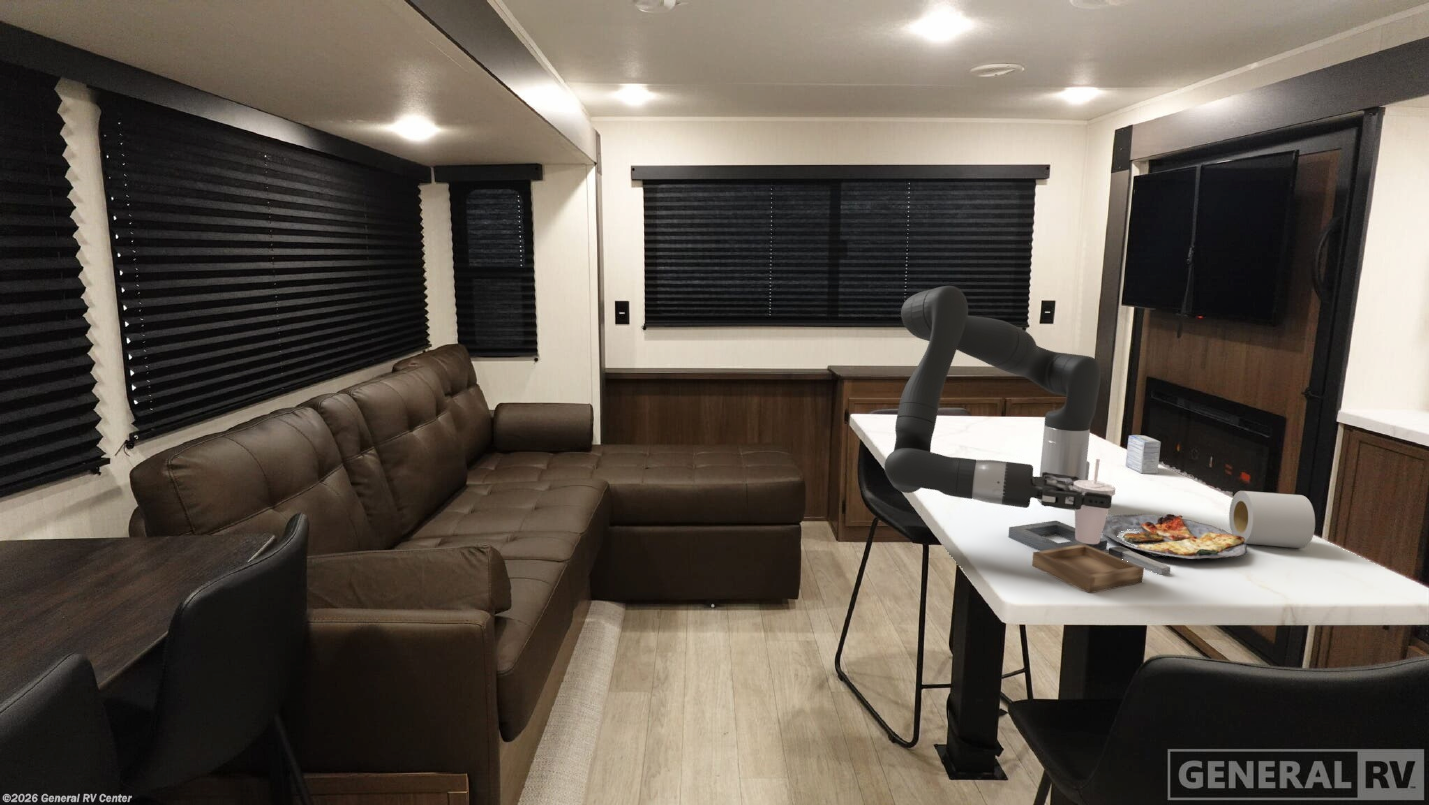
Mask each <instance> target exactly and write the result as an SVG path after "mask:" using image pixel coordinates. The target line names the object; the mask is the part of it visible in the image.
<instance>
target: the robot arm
mask: <svg viewBox="0 0 1429 805" xmlns="http://www.w3.org/2000/svg"><path fill="white" fill-rule="evenodd" d="M900 316H901V320H902V324H903V326H904V327H905V328H906V330H907V331H908V332H909V333H910V334H912V336H914V337H916V338H918V339H920V340H923V341H928V345H927V348H926V350H925V352H924V354H923V356H922V358H921V360H920V362H919V364H917V366H916V368H915V370H914V371H913V373H912V374H911V376H910V377H909V379H908V381H907V382H906V384H905V386H904V389H903V391H902V393H901V397H900V400H899V405H898V410H897V415H896V420H895V429H894V430H895V443H894V447H893V451H892V452H891V453H889V454H888V456H887V457H886V458H885V462H884V474H885V476H886V477H887V479H888V481H889V483H890V484H891V485H892V487H893V488H895V489H896V490H898V491H899V492H901V493H906V494H908V493H909V494H910V493H911V494H912V493H914V492H915V493H916V492H917V491H919V490H920V489H927V490H934V491H938V492H939V493H941V494H943V495H946V496H950V497H953V498H954V497H955V498H962V499H969V500H972V499H973V500H976V501H979V502H984V503H988V504H996V505H1002V506H1009V507H1018V508H1023V509H1025V508H1029V507H1030V504H1031V499H1032V498H1034V499H1037V500H1038V501H1039V502H1040V505H1041V506H1043V507H1051V508H1052V507H1053V508H1061V509H1069V510H1070V509H1072V510H1075V509H1076V510H1078V509H1081V507H1085V506H1090V507H1098V508H1105V509H1111V507H1112V500H1113V496H1112V497H1111V496H1110V495H1108V494H1100V493H1092V492H1085V491H1082V490H1077V489H1074V488H1073V484H1074V482H1075V481H1078V480H1089V473H1090V465H1091V464H1090V461H1088V452H1089V442H1090V435H1091V434H1090V433H1091V425H1092V422H1093V419H1094V417H1095V415H1096V410H1097V403H1098V397H1099V392H1100V386H1101V385H1100V384H1101V377H1102V376H1101V372H1102V371H1101V366H1100V364H1099V361H1097V359H1096V358H1094V357H1093V356H1089V355H1083V354H1075V353H1074V354H1073V353H1067V352H1058V351H1053V350H1049V349H1047V348H1046V349H1045V348H1043V347H1041V346H1039V345H1038V344H1037V342H1036V340H1035V339H1034V337H1033V336H1032V334H1030V333H1028V332H1027V331H1026V330H1024V329H1022V328H1020V327H1018V326H1016V325H1014V324H1012V323H1010V322H1007V321H1005V320H1001V319H996V318H991V317H983V316H973V315H969V306H968V301H967V298H966V295H965V294H964V293H963V292H962V290H960V288H958V287H956V286H954V285H945V286H939V287H935V288H932V289H927V290H923V291H920V292H917V293H915V294H912V296H910V297H908V298H907V299H906V300H905V301H904V302H903V305H902V307H901V311H900ZM957 351H958V352H960V353H963V354H965V355H967V356H970V357H972V358H974V359H977V360H980V361H981V362H983V363H985V364H987V365H989V366H992V367H994V368H997V369H998V370H1001V371H1005V372H1006V373H1010V374H1013V375H1017V376H1021V377H1024V378H1025V379H1028V380H1029V381H1031V382H1033V383H1034V384H1036V385H1037V386H1039V387H1041V388H1042V389H1044V390H1045V391H1047V392H1049V393H1052V394H1054V395H1058V396H1059V395H1060V396H1064V397H1066V398H1065V400H1064V401H1065V402H1064V405H1063V406H1062V407H1061V408H1059V409H1054V410H1049V411H1047V412H1046V414H1045V416H1044V424H1043V425H1044V426H1043V437H1042V446H1041V458H1040V459H1041V460H1040V466H1039V476H1034V466H1033V465H1032V464H1028V463H1019V462H1012V461H1003V460H994V459H975V458H966V457H958V456H957V457H955V456H954V457H953V456H947V455H943V454H940V453H935V452H931V448H932V438H933V435H934V431H935V428H936V422H937V417H938V414H939V413H938V411H939V407H940V402H941V397H942V393H943V389H944V386H945V383H946V379H947V376H948V373H949V371H950V369H951V366H952V363H953V360H954V358H955V354H956V352H957Z"/></svg>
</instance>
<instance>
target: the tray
mask: <svg viewBox="0 0 1429 805" xmlns="http://www.w3.org/2000/svg"><path fill="white" fill-rule="evenodd" d="M1031 566H1032V567H1033V568H1036V569H1038V570H1040V571H1042V572H1044V573H1046V574H1049V575H1050V576H1053V577H1055V578H1057V579H1058V580H1060V581H1063V582H1065V583H1067V584H1070V585H1071V586H1073V587H1075V588H1077V589H1080V590H1082V591H1084V592H1086V593H1088V594H1090V593H1091V594H1092V593H1095V592H1096V593H1097V592H1100V591H1106V590H1111V589H1116V588H1121V587H1126V586H1132V585H1136V584H1142V583H1143V578H1144V572H1145V571H1144V570H1145V569H1144V568H1142V567H1140V566H1137V565H1135V564H1132V563H1130V562H1127V561H1125V560H1122V559H1120V558H1117V557H1115V556H1112V555H1110V554H1108V553H1107V552H1106V551H1100V550H1098V549H1095V548H1093V547H1090V546H1088V545H1085V544H1082V545H1075V546H1069V547H1063V548H1057V549H1051V550H1044V551H1039V550H1037V551H1033V552H1032V560H1031Z"/></svg>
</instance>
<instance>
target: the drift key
mask: <svg viewBox="0 0 1429 805" xmlns="http://www.w3.org/2000/svg"><path fill="white" fill-rule="evenodd" d="M1107 554H1110V555H1112V556H1115V557H1117V558H1120V559H1123V560H1125V561H1128V562H1130V563H1132V564H1135V565H1137V566H1140V567H1142V568H1145V569H1144V570H1146V571H1149V572H1151V571H1152V572H1151V573H1153V574H1155V573H1157V574H1156V575H1158V574H1159V575H1158V576H1160V575H1163V576H1167V575H1166V574H1169V575H1171V574H1170V573H1171V566H1169V565H1167V564H1164V563H1162V562H1160V561H1158V560H1154V559H1152V558H1149V557H1148V556H1144V555H1141V554H1139V553H1137V552H1135V551H1132V549H1129V548H1126V547H1124V546H1121V545H1118V546H1112V547H1108V553H1107Z"/></svg>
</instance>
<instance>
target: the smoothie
mask: <svg viewBox="0 0 1429 805" xmlns="http://www.w3.org/2000/svg"><path fill="white" fill-rule="evenodd" d="M1100 461H1101V460H1100V458H1095V463H1094V464H1095V465H1094V472H1093V480H1091V479H1088V480H1078V481H1075V482H1074V484H1073V488H1074V489H1077V490H1082V491H1085V492H1092V493H1100V494H1108V495H1110V496H1111V497H1112V498H1113V496H1115V495H1116V487H1115V486H1113V485H1112V484H1109V483H1107V482H1103V481H1098V477H1099V469H1100ZM1109 509H1110V508H1109ZM1109 509H1105V508H1098V507H1090V506H1085V507H1081V509H1078V510H1076V509H1074V528H1075V539H1076V540H1077V541H1080V542H1082V543H1087V544H1098V543H1099V542H1100V539H1101V538H1102V535H1103V533H1102V531H1103V528H1104V524H1105V521H1106V517H1107V516H1108V514H1109Z"/></svg>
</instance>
